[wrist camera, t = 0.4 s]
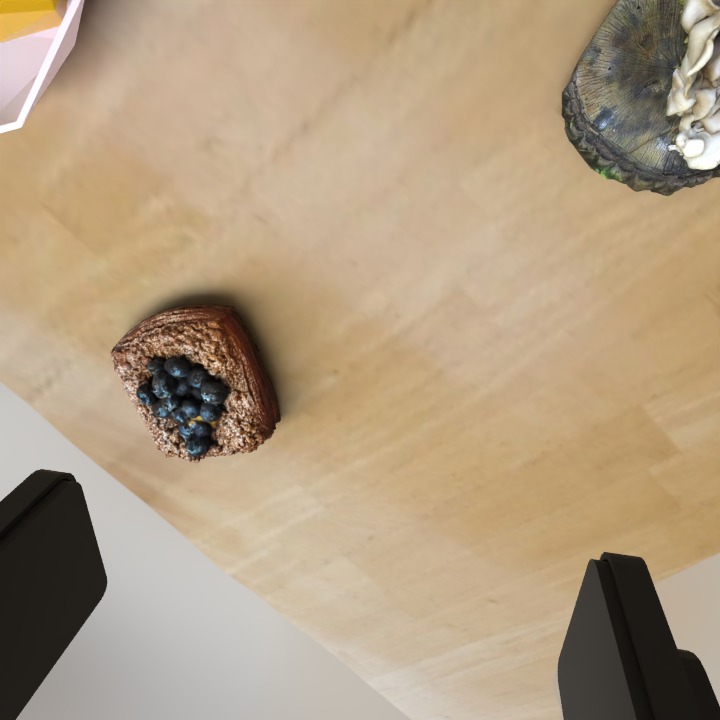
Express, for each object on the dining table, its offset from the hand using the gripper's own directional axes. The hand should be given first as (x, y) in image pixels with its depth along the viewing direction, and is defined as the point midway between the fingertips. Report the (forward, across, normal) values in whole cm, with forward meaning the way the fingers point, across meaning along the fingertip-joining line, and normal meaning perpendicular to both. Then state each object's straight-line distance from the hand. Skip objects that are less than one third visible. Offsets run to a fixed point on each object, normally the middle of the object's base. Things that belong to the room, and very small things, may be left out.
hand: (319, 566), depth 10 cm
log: (+28, -12, -8) cm, 31 cm away
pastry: (+28, +16, +13) cm, 34 cm away
